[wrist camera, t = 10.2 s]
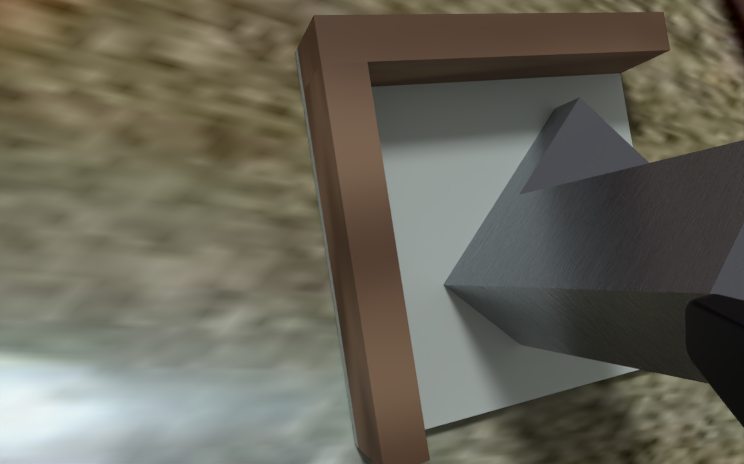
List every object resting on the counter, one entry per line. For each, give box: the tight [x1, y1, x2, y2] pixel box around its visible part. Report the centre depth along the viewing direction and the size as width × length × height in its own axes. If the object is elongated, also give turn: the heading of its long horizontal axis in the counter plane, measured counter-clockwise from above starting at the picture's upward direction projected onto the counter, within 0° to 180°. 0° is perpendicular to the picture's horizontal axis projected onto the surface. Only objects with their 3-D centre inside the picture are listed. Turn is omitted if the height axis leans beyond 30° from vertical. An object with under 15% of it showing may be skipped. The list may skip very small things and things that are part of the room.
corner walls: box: [297, 12, 670, 464], centre depth 20 cm, size 14×14×3 cm
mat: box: [295, 50, 639, 447], centre depth 22 cm, size 14×14×1 cm
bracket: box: [443, 97, 744, 383], centre depth 17 cm, size 9×4×11 cm, turn 144°
